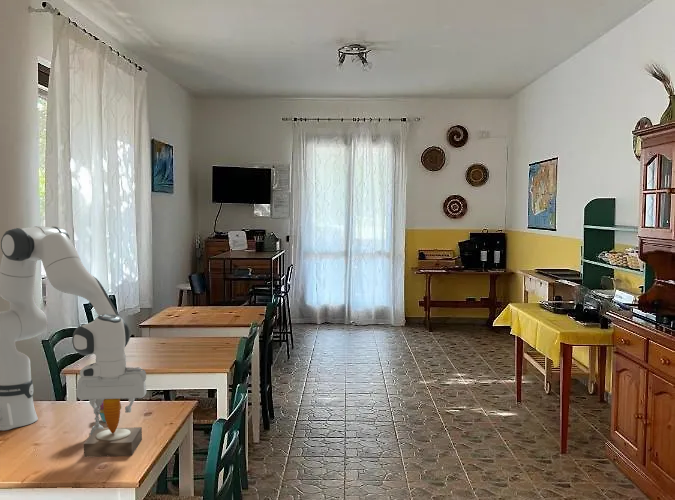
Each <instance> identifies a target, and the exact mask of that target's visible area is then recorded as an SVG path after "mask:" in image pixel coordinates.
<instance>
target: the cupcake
mask: <svg viewBox="0 0 675 500" xmlns="http://www.w3.org/2000/svg"><path fill="white" fill-rule="evenodd" d="M103 401H104V400H103ZM121 409H122V404H121V402H120V410H121ZM99 417H100V420H101V421H102V422H103V423H106V420H105V416H104V406H103V402H102V405H101V406H100V413H99Z"/></svg>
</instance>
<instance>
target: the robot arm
mask: <svg viewBox="0 0 675 500" xmlns="http://www.w3.org/2000/svg"><path fill="white" fill-rule="evenodd" d="M0 249H1V251H2V257H1V260H0V297H1V299H3V300H4V301H6V302H8V303H9V309H8V310H4V311H0V431H9V430H12V429H15V428H19V427H25V426H27V425H31V424H33V423H35V422H37V421H38V419H39V417H38V415H37V412H36V409H35V403H34V397H33V396H34V384H33V379H32V371H31V370H32V369H31V366H32V365H31V359H30V357H29V356H28V355H27V354H25V353H24V352H22V351H19V350H18V349H17V346H16V342H19V341H25V340H31V339H34V338H36V337H37V336H40V335H42V334H44V333H45V332H46V330H47V329H48V328H47V327H48V317H47V314H46V313H45V312H44V310H42V309H41V308H40V307H39V306H38V305H37V302H36V301H35V296H34V290H35V278H36V269H37V267H36V266H37V262H38V261H41V262H42V266H43V270H44V272H45V273H46V276H47V280H48V281H49V283H50V284H51V286H52V287H53V288H54V289H55V290H57V291H59V292H61V293H64V294H70V295H74V296H78V297H81V298H82V299H84V300H87V301H88V302H89V303H90V304H91V305H92V307H93V309H94V310H95V312H96V314H97V316H96V317H95V319H94V320H93V321H91V322H88V323H84V324H82V325H79V326H77V327H76V328H75V330H74V331H73V334H72V337H71V339H72V347H73V349H74V350H75V351H76V353H78V354H80V355H81V356H91V355H95V362H93V363H90V364H87V365H85V366H84V367H82V368H81V369H80V371H79V376H80V377H79V378H78V380H77V386H76V396H77V398H78V400H79V401H80V400H81V401H83V400H84V401H85V400H86V401H87V400H88V401H89V404H90V406H91V407H92V409H93V414H94V415H95V414H97V413H100V407H97V405H96V403H95V401H96V399H120V400H121V399H128V402H129V404H128V405H126V406H125V411H124V412H125V413H127V414H128V413H131V412H132V406H133V404H134V402H135V401H136V399H143V398H144V397H145V396H146V394H147V386H146V380H147V371H146V370H145V369H143V368H141V367H127V354H126V352H125V348H126V347H127V345H128V344H129V343H130V342H129V341H130V339H131V329H130V327H129V326H128V324H127V323H126V321H125V319H123V317H122V316H121V315H120V314H119V312H118V310H117V309H116V307H115V305H114V304H113V302H112V300H111V298H110V296H109V295H108V293H107V291H106V289H105V288H104V286H103V285H102V284H101V282H100V280H99V279H98V278H97V277H96V276H93V275H92V274H91V273H90V272H89V271H88V270H87V268H86V267H85V266H84V264H83V262H82V261H81V258H80V255H79V253H78V251H77V250H76V248H75V246H74V244H73V242H72V241H71V238H70V235H69V233H68V232H67V230H66V229H65V228H62V227H57V226H39V225H38V226H32V227H31V226H30V227H23V228H20V227H18V228H17V227H16V228H12V229H9V230H7V231H5V232H4V233H3V235H2V238H1V240H0Z"/></svg>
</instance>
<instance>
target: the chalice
mask: <svg viewBox="0 0 675 500" xmlns="http://www.w3.org/2000/svg"><path fill="white" fill-rule="evenodd" d="M103 400H104V399H96V401H95V403H96V405H97V407H100V406H101V405H102V402H103ZM94 415H95V418H94V421H95V424H94V425H93V426H92V427H91V430H90V432H89V435H90V436H91V435H92V434H93V432H94V431H95V430H96V429H104V428H105V427H104V425H102V424H100V420H101V417H100V414H99V413H97V414H94Z"/></svg>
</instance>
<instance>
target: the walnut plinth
mask: <svg viewBox="0 0 675 500" xmlns="http://www.w3.org/2000/svg"><path fill="white" fill-rule="evenodd" d="M103 428H104V429H96V430H95V431H94V432H93V434H92V435H90V436H89V437H88V438H87V439H86V440H85V442H83V458H97V457H101V458H102V457H123V456H124V457H125V456H133V454H134V453H135V452H136V451H137V448H138V447H139V446H140V444H141V442H142V440H143V430H142V429H143V427H142V426H141V427H140V426H138V427H137V426H136V427H117V429H116V431H115V432H114V434H113V433H111V431H110V430H109V428H108V427H106V428H105V427H103Z"/></svg>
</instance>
